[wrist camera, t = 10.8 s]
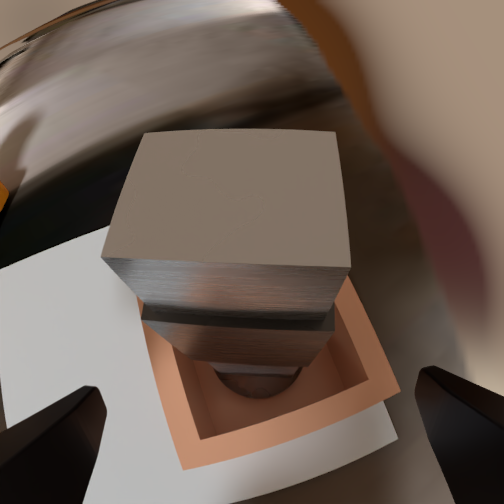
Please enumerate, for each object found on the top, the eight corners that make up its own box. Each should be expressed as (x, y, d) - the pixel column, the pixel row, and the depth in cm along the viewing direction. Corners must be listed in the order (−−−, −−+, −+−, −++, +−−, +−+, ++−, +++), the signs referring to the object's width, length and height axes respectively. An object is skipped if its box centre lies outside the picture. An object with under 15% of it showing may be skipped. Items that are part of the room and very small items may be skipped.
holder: (367, 399, 14) (400, 391, 10) (205, 457, 13) (183, 470, 9) (306, 259, 18) (315, 213, 14) (161, 306, 17) (131, 270, 14)
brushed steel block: (302, 400, 14) (405, 348, 3) (209, 395, 15) (47, 322, 4) (304, 314, 16) (360, 100, 5) (218, 310, 17) (131, 103, 6)
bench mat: (395, 438, 14) (398, 438, 13) (35, 515, 11) (31, 516, 11) (275, 177, 22) (275, 173, 22) (2, 272, 19) (-1, 269, 19)
